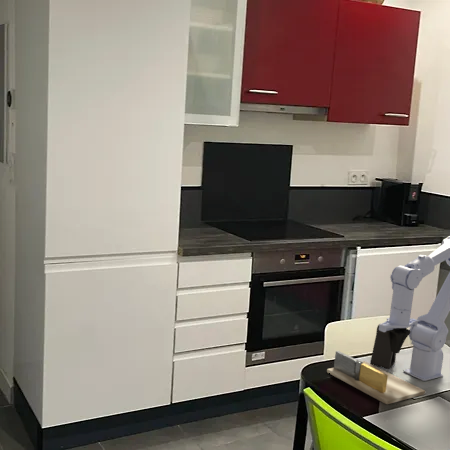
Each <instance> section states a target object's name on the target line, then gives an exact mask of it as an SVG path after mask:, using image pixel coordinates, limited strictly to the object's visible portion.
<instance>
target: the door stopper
mask: <svg viewBox="0 0 450 450" xmlns="http://www.w3.org/2000/svg"><path fill="white" fill-rule="evenodd" d="M380 324H381V323H379V324H378V325H377V327H376V333H375V339H374V342H373V343H374V344H373V346H372V347H373V348H372V353H371V358H370V362H369V364H371V365H373V366H376V367H378V368H383V369H387V370H390V369H391V367H392V366H393V364H395V362H396V357H397V353H394V352H391V347H390V340H389V337H388V334H387V332H382V331H380V330H379V325H380Z"/></svg>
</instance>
